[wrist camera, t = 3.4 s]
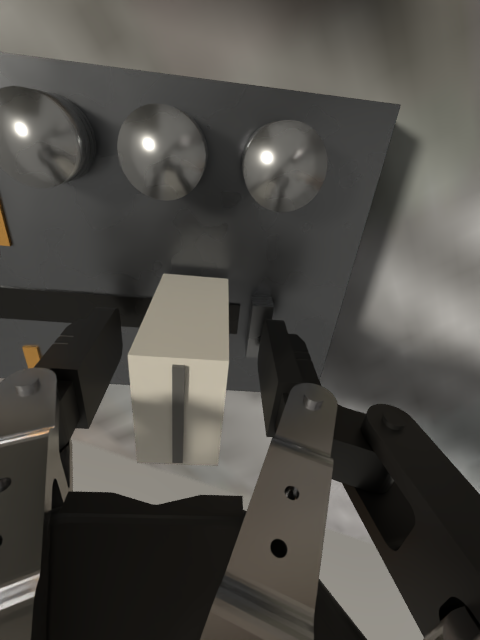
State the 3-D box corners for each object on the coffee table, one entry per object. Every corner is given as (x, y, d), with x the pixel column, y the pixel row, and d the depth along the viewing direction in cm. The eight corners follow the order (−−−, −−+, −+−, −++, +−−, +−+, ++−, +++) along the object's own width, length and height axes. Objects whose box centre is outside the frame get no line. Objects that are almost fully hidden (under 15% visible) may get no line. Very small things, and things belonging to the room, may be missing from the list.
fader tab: (228, 278, 12) (229, 363, 8) (220, 363, 14) (217, 468, 10) (163, 273, 12) (126, 357, 8) (165, 359, 14) (136, 466, 10)
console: (374, 108, 12) (428, 100, 9) (306, 369, 18) (323, 419, 15) (-106, 46, 10) (-248, 10, 7) (-3, 350, 16) (-56, 402, 13)
